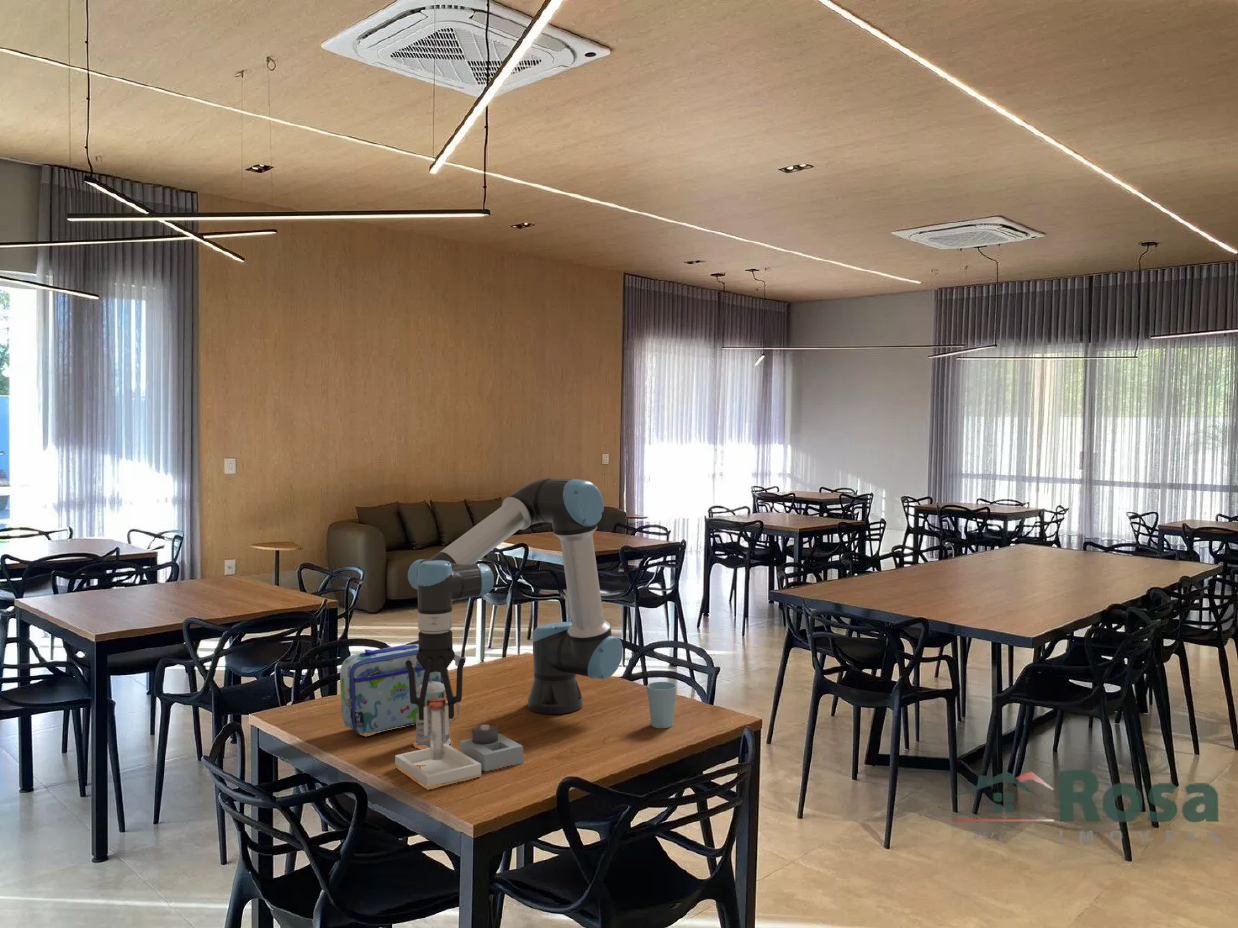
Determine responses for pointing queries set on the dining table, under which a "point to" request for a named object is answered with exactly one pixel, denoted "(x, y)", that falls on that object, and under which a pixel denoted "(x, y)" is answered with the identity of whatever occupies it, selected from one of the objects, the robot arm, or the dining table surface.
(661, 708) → the cup
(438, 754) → the pin
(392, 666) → the lunch box
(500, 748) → the grey block with knob
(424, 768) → the parts tray
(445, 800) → the dining table surface
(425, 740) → the french press
